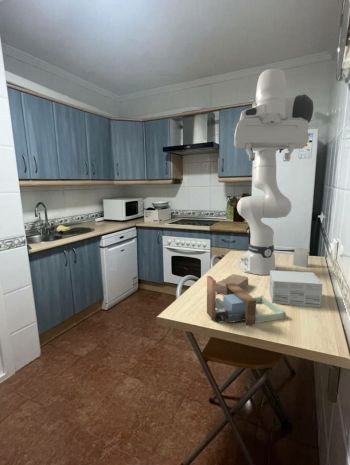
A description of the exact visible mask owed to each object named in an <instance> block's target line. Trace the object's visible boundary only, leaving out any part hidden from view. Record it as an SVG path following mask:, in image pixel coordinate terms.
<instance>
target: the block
mask: <svg viewBox="0 0 350 465" xmlns="http://www.w3.org/2000/svg"><path fill="white" fill-rule="evenodd" d="M222 295H223V294H222ZM222 298H223V299H222V301H223V303H224V304H225V305H226V306H227V307H228V308H229V309H230V310H231V315H232V314H239V313H245V310H246V303H245V302H244V301H243V300H242V299H241V298H240V297H238V296H237V295H236V294H230V295H223V296H222Z"/></svg>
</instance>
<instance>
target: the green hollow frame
mask: <svg viewBox="0 0 350 465" xmlns="http://www.w3.org/2000/svg"><path fill="white" fill-rule="evenodd" d="M252 297H253V298H254V299H255V300H256V304H257V303H262V304H263V305H265V306H266V307H267V308H268V309H270V310H271V311H272V312H269V313H268V312H267V313H261V314H256V320H255V323H261V322H268V321H275V320H280V319H281V320H282V319H286V314H287V312H286V311H284V310H283V309H281V308H280V307H279V306H277V305H276V303H272V301H271V300H269V299H267V298H266V297H265V296H264V295H258V296H252Z"/></svg>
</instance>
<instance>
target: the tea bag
mask: <svg viewBox="0 0 350 465" xmlns="http://www.w3.org/2000/svg"><path fill="white" fill-rule="evenodd" d="M292 260H293V261H292V262H293V263H292V266H294V267H301V268H308V266H309V248H304V247H298V246H297V247H296V246H295V247H294V251H293V259H292Z"/></svg>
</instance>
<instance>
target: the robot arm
mask: <svg viewBox="0 0 350 465" xmlns="http://www.w3.org/2000/svg"><path fill="white" fill-rule="evenodd" d="M256 83H257V84H256V90H255V91H256V92H255V98H254V99H253V101H252V103H251V107H250V108H246V109H244V110H242V111H241V113H240V117H239V121H238V122H237V124H236V127H235V131H234V138H233V146H234V147H235V149H244V150H245V152H246V154H247V156H248V161H249V162H250V161H252V162H253V171H252V173H253V174H252V184H253V186H254V187H255V188H256V189H257V190H260V191H262V192H264V194H265V195H250V196H248V195H247V196H244V197H241V198H240V199H239V200H238V202H237V205H236V209H237V213H238V214H239V216H241V217H242V218H243V219H244V220H245V221H246V223H247V225H248V227H249V231H250V243H249V244H248V245H247V246H248V249H247V251H245V252H244V253H243V254H242V255H241V256H240V260H241V261H238V262H237V263H236V265H237V267H238V268H239V269H241V271H243V272H244V273H247V274H253V275H261V276H267V275H269V276H270V270H273V271H278V270H277V268H278V267H276V256H275V253H274V252H275V245H274V236H275V235H274V229H273V228H272V227H271V226H269V225H267V224H266V223H263V221H262V219H279V218H285V217H287V216H288V215H289V214H290V213H291V211H292V202H291V201H290V199H289V198H288V197H287V196H285V194H283V193H282V192H281V190H280V188H279V186H278V181H277V151H279V154H281V153H282V151H283V150H287V152H285V153H284V155H283V157H282V158H283V162H290V160H291V155H292V153H293V152H294V150H302V149H304V148H306V146H307V144H308V143H309V140H310V138H309V136H310V135H309V123H310V122H311V121H312V118H313V115H314V102H313V99H311V97H310V96H308V95H307V94H306V93H305V94H299V95H296V96H287V95H288V89H287V88H288V87H287V79H286V74H285V71H284V70H283V69H282V68H279V67H278V68H277V67H275V68H274V67H273V68H269V69H266V70H264V71H262V72H261V73H260V74H259V77H258V80H257V82H256Z"/></svg>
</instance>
